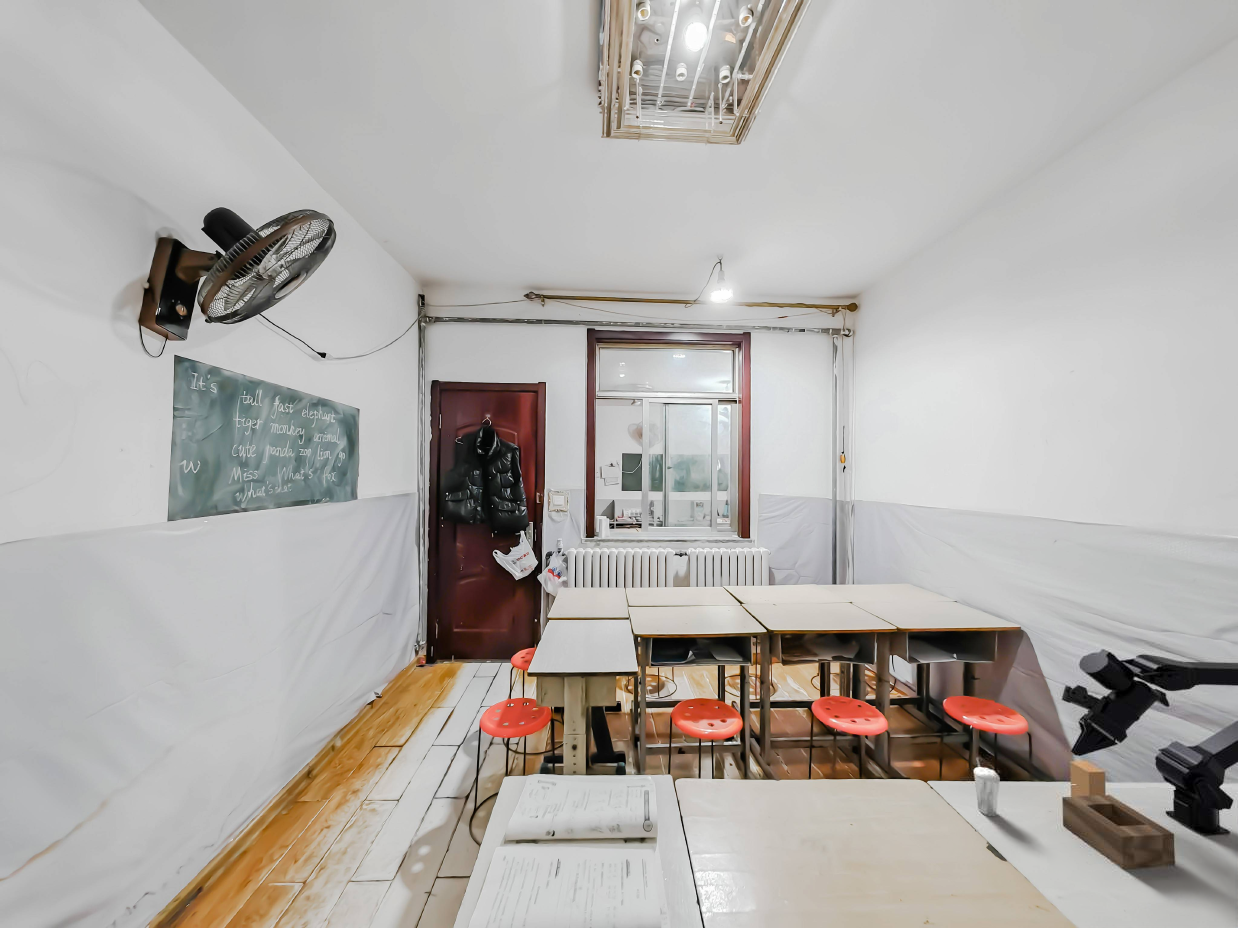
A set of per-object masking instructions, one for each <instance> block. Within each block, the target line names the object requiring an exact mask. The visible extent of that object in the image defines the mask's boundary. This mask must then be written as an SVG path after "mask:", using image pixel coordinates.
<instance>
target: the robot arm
mask: <svg viewBox="0 0 1238 928" xmlns="http://www.w3.org/2000/svg"><path fill="white" fill-rule="evenodd" d="M1078 667H1079V669H1080V670H1081V671H1082V672H1084V673H1085V674H1086V675H1087V676H1089V677H1090V678H1092V679H1093V680H1094V681H1095V682H1096V683H1098V684H1099V685H1100V686H1101V687H1103V688H1104V689H1106V690H1109V691H1110V692H1108V694H1106V695H1103V696H1102V697H1100V698H1098V697H1095V696H1093V695H1092V694H1089V692H1088V690H1087V687H1084V686H1082V685H1079V684H1076V685H1075V686H1074V687H1072V686H1069V685H1065V686H1064V690H1063V692H1062V693H1063V694H1062V697H1061V701H1064V702H1066V703H1069V704H1073V705H1076V706H1077V707H1081V708H1082V709H1085V710H1087V713H1084V714H1083V715H1082V716H1081V717H1080V718H1079V720H1078V725H1079V726H1078V727H1079V728H1080V729H1079V730H1080V734H1078V737H1077V738H1076V741H1075V742H1074V744H1073V747H1072V748H1071V750H1070V752H1071V753H1072V754H1073V755H1074V756H1077V757H1081V756H1084V755H1088V754H1091V753H1094V752H1098V751H1101V750H1104V749H1108V748H1111V747H1115V746H1117V745H1119V744H1121V743H1123V741H1125V740H1126V739H1127V737H1128V734H1127V731H1128V730H1129V729H1130V728H1131V727H1132V726H1133V725H1134V724H1135V723H1136V722H1138V721H1139V720H1140V719H1141V717H1142V716H1144V714H1145V713H1146V712H1147V711H1148V710H1149V709H1150V708H1151V707H1152V706H1153V705H1154V704H1155V703H1158V704H1161V705H1162V706H1164V707H1167V708H1169V707H1170V703H1169V700H1168V698H1167V693H1166V692H1164V691H1167V692H1177V691H1186V690H1191V689H1193V688H1194V687H1196V686H1203V685H1204V686H1206V685H1207V686H1208V685H1209V686H1231V687H1232V686H1237V687H1238V662H1218V661H1217V662H1214V661H1212V662H1210V661H1208V662H1207V661H1181V660H1176V659H1172V658H1168V657H1163V656H1157V655H1152V654H1145V653H1143V654H1138V655H1136V656H1135V658H1129V659H1121V660H1120V659H1119V658H1118V657H1117V656H1116V655H1115V654H1114V653H1112V652H1111V651H1109V650H1106V649H1103V648H1102V649H1101V650H1100V651H1099V652H1097V651H1096V652H1091V653H1089V654H1087V655H1083V656H1082V658H1081V659H1080V661H1079V664H1078ZM1135 678H1136V679H1137V680H1136V679H1135ZM1150 685H1153V686H1155V687H1157V688H1159V689H1162V690H1164V691H1162V690H1159V689H1157V688H1153V687H1151V686H1150ZM1158 751H1159V753H1158V754H1157V755H1155V757H1154V760H1155V764H1154V765H1155V767H1156V770H1157V771H1158V772H1159V773H1160V774H1161V776H1162V779H1163V780H1164V782H1166V783H1168V784H1170V785H1171V786H1172V787H1174V788H1175V789H1173V799H1172V806H1173V807H1172V808H1173V810H1167V811H1166V810H1165V815H1167V816H1168V817H1170V818H1172V819H1174V820H1176V821H1177V822H1179V823H1180V824H1182V825H1185V826H1186V827H1187V828H1189V829H1191V830H1194V832H1196V833H1198V834H1200V835H1202V836H1220V835H1230V834H1231V831H1230V830H1229V829H1228V828H1227V829H1226V828H1225V827H1223V826H1221V825H1220V823H1221V822H1220V811H1223V810H1231V808H1232V806H1233V803H1234V799H1233V798H1232V797H1231V796H1230V795H1229V794H1228V793H1226V792H1225V790H1223V789H1222V788H1221V786H1222V785H1223V784H1224V782H1225V776H1226V775H1225V774H1226V770H1227V769H1229V768H1230V767H1231V768H1232V767H1233V766H1234V765H1236V764H1238V720H1236V721H1235V722H1233V723H1231V724H1229V725H1228V726H1226V727H1225V728H1223V729H1221V730H1220V731H1217V732H1216V733H1215V734H1213V735H1211V736H1210V737H1207V738H1206V739H1204V740H1202V741H1201V742H1200V743H1197V744H1196V745H1190V746H1188V745H1187V746H1186V745H1184V744H1183V743H1181V742H1179V741H1177V740H1176V741H1172V742H1171V743H1170V744H1169V745H1168V746H1166V747H1164V748H1158Z"/></svg>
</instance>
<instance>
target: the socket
mask: <svg viewBox="0 0 1238 928" xmlns="http://www.w3.org/2000/svg"><path fill="white" fill-rule="evenodd" d="M1061 797H1062V799H1061V800H1062V802H1061V803H1062V826H1063V827H1064V828H1066V829H1067V830H1068V831H1070V832H1071V833H1072V834H1074V835H1075V836H1076V837H1078V838H1079V839H1081V841H1084V842H1085V843H1086V844H1087V845H1089V846H1090V847H1091V848H1093V849H1094V850H1096V851H1097V852H1099V853H1100V854H1101V855H1103V856H1105V858H1107V859H1108V860H1110V861H1111V863H1113V864H1115V865H1117V866H1118V867H1119V868H1120V869H1122V870H1126V869H1127V870H1129V869H1131V870H1132V869H1147V868H1160V867H1162V868H1163V867H1175V866H1176V851H1175V850H1176V848H1175V846H1176V845H1175V833H1174V832H1172V831H1170V830H1169V829H1167V828H1166V827H1163V825H1160V824H1158V823H1157V822H1155V821H1154V820H1152V819H1151V818H1149V817H1147V816H1145V815H1144V814H1142V813H1140V812H1139V811H1137V810H1136V809H1134V808H1132V807H1131V806H1129V805H1127V804H1126V803H1124V802H1122V801H1120V800H1119V799H1117V798H1116V797H1114V796H1112V795H1110V794H1106V795H1096V796H1076V797H1071V796H1061Z"/></svg>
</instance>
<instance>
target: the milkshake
mask: <svg viewBox="0 0 1238 928" xmlns="http://www.w3.org/2000/svg"><path fill="white" fill-rule="evenodd" d="M979 760H980V759H979V757H975V761H976V763H977V767H975V768H974V769H973V776H974V784H975V791H976V801H977V809H978V811H980V813H982V814H984V815H985V816H988V817H997V813H998V812H997V810H998V808H997V807H998V797H999V796H998V795H999V789H1000V780H1001V778H1000V775H998V773H997V772H996V771H995V770H994V769H990V768H988V767H982V766H981V764H980V761H979Z"/></svg>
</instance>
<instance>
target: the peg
mask: <svg viewBox="0 0 1238 928" xmlns="http://www.w3.org/2000/svg"><path fill="white" fill-rule="evenodd" d="M1069 764H1070V766H1069V769H1070V772H1069V773H1070V797H1076V796H1096V795H1107V794H1106V792H1107V791H1106V771H1105V770H1103V769H1101V768H1100V767H1098V766H1096V765H1094V764H1093V763H1090V762H1088V761H1087V760H1075V761H1069ZM1071 784H1076V785H1071Z"/></svg>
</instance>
